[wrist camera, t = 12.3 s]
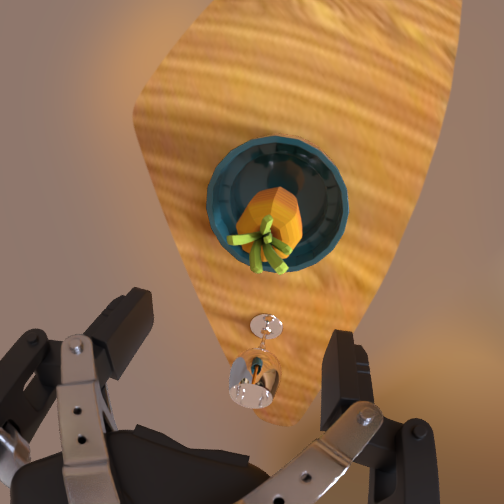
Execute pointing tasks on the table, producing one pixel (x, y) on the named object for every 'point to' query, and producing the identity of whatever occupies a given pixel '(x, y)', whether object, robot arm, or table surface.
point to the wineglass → (257, 367)
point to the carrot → (269, 229)
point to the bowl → (290, 178)
